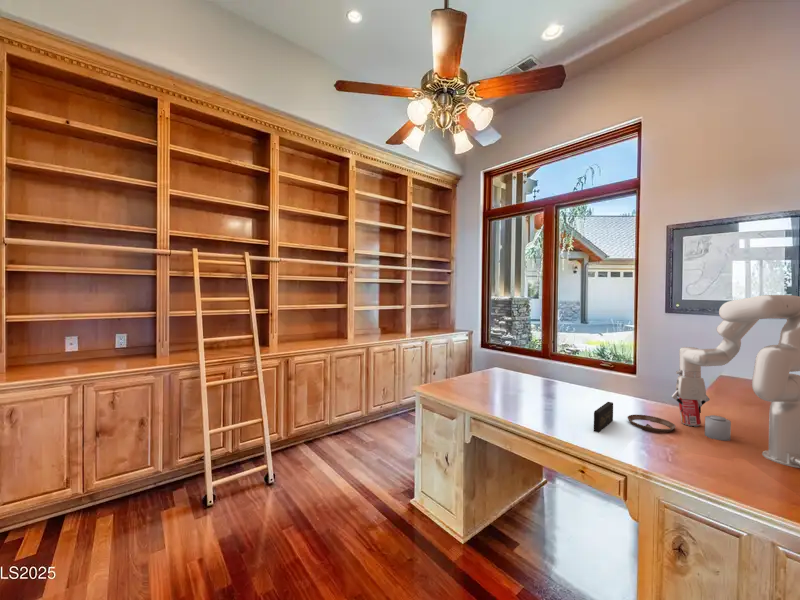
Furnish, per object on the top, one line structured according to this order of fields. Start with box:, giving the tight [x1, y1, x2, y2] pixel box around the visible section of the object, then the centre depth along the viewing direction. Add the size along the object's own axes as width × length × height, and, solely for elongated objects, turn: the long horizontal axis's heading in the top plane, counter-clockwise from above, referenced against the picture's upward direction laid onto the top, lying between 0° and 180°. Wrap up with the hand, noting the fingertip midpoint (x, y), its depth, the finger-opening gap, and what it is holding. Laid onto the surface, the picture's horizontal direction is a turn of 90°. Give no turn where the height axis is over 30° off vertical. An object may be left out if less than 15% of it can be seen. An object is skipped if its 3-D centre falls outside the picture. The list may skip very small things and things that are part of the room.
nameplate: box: [593, 401, 614, 433], centre depth 156 cm, size 21×2×10 cm, turn 134°
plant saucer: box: [626, 414, 676, 434], centre depth 158 cm, size 18×18×3 cm
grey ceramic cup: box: [704, 414, 732, 442], centre depth 146 cm, size 8×8×9 cm
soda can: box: [678, 397, 702, 427], centre depth 160 cm, size 7×7×13 cm
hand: (690, 413), depth 159 cm, fingers closed on soda can, 4 cm apart
